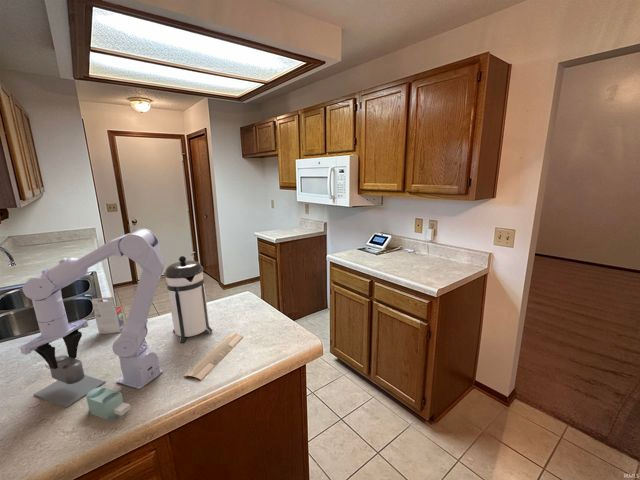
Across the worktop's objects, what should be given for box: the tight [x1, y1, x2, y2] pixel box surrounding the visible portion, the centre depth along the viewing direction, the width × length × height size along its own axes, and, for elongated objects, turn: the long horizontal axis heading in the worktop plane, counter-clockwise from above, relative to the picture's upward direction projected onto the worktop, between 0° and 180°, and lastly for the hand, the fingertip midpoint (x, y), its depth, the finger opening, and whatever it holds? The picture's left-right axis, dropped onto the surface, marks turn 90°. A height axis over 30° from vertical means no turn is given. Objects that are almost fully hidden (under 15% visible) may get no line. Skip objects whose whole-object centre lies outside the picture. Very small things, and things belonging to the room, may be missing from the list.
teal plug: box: [85, 386, 131, 421], centre depth 75 cm, size 12×4×4 cm, turn 70°
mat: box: [33, 374, 106, 409], centre depth 84 cm, size 14×10×1 cm
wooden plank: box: [183, 333, 244, 381], centre depth 97 cm, size 24×7×2 cm, turn 164°
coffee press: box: [163, 255, 213, 344], centre depth 109 cm, size 17×16×30 cm
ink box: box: [91, 296, 125, 335], centre depth 113 cm, size 4×8×15 cm, turn 96°
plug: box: [44, 355, 86, 384], centre depth 82 cm, size 12×4×4 cm, turn 70°
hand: (63, 362), depth 82 cm, fingers closed on plug, 4 cm apart
